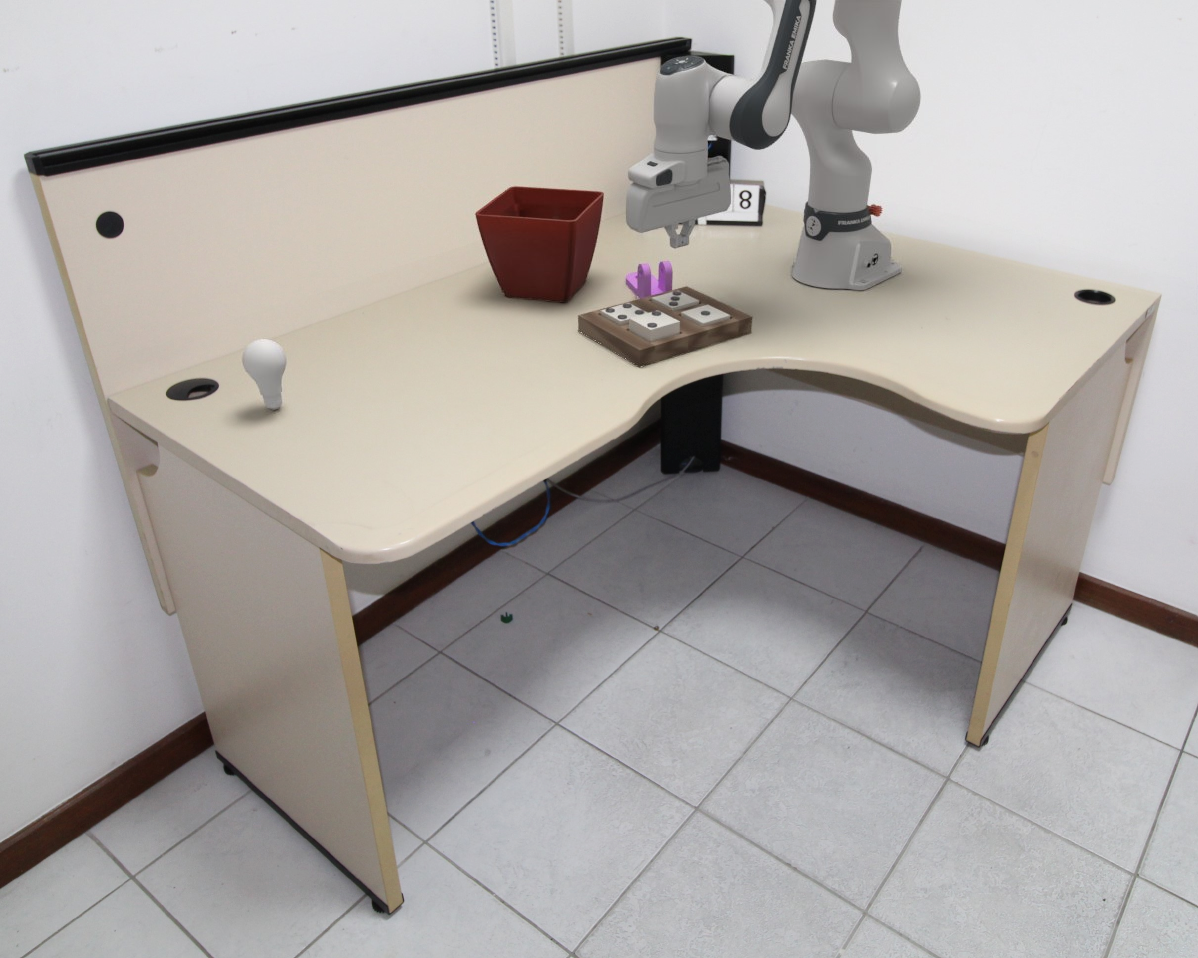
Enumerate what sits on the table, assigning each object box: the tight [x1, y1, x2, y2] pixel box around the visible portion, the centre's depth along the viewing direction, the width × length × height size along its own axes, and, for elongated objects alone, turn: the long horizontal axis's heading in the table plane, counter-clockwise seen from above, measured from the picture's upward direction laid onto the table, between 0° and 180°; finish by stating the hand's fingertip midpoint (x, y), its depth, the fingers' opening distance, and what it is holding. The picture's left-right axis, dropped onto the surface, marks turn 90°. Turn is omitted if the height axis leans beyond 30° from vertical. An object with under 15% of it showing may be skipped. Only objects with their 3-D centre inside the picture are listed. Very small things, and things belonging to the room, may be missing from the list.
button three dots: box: [651, 291, 699, 312], centre depth 171 cm, size 6×6×3 cm
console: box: [577, 285, 754, 368], centre depth 166 cm, size 24×18×3 cm
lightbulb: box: [241, 338, 288, 411], centre depth 140 cm, size 6×6×11 cm
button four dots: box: [601, 303, 647, 326], centre depth 166 cm, size 6×6×3 cm
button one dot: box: [681, 305, 730, 327], centre depth 165 cm, size 6×6×3 cm
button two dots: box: [629, 310, 680, 343], centre depth 159 cm, size 6×6×3 cm
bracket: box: [625, 260, 674, 299], centre depth 182 cm, size 13×6×7 cm, turn 17°
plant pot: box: [474, 185, 605, 303], centre depth 180 cm, size 19×19×17 cm
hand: (679, 246), depth 165 cm, fingers closed
